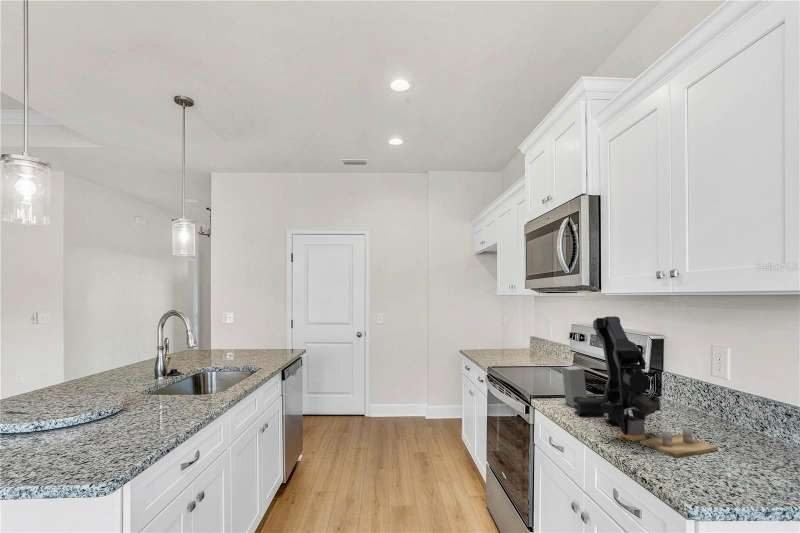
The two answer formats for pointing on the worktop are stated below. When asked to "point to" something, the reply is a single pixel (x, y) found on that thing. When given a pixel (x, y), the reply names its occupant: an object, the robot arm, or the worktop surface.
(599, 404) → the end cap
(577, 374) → the skincare box
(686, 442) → the pin board
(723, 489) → the worktop surface
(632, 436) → the sleeve
